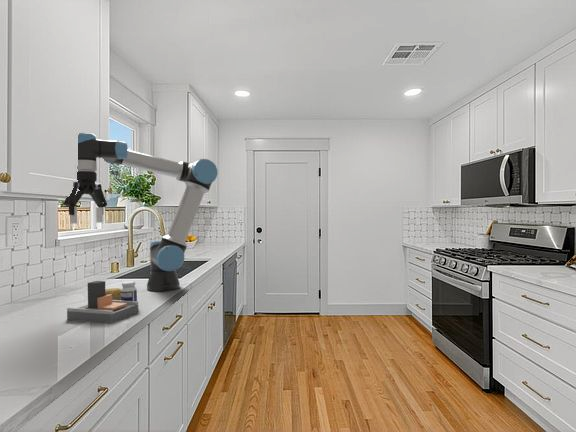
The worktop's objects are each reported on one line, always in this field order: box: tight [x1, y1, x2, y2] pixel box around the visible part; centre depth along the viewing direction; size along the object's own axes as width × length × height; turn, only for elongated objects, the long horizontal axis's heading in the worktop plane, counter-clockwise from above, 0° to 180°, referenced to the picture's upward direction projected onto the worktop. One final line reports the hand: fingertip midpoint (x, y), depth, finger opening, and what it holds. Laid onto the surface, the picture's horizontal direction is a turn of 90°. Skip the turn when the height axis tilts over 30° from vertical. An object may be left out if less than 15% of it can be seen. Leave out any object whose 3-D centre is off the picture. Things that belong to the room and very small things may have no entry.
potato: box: [105, 287, 122, 300], centre depth 151 cm, size 7×11×6 cm, turn 118°
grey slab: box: [66, 300, 139, 324], centre depth 133 cm, size 14×18×4 cm
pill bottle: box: [120, 280, 138, 302], centre depth 145 cm, size 6×6×10 cm
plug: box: [87, 280, 106, 309], centre depth 134 cm, size 4×4×12 cm
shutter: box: [97, 294, 127, 310], centre depth 132 cm, size 7×7×4 cm
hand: (87, 223), depth 154 cm, fingers open, 13 cm apart
